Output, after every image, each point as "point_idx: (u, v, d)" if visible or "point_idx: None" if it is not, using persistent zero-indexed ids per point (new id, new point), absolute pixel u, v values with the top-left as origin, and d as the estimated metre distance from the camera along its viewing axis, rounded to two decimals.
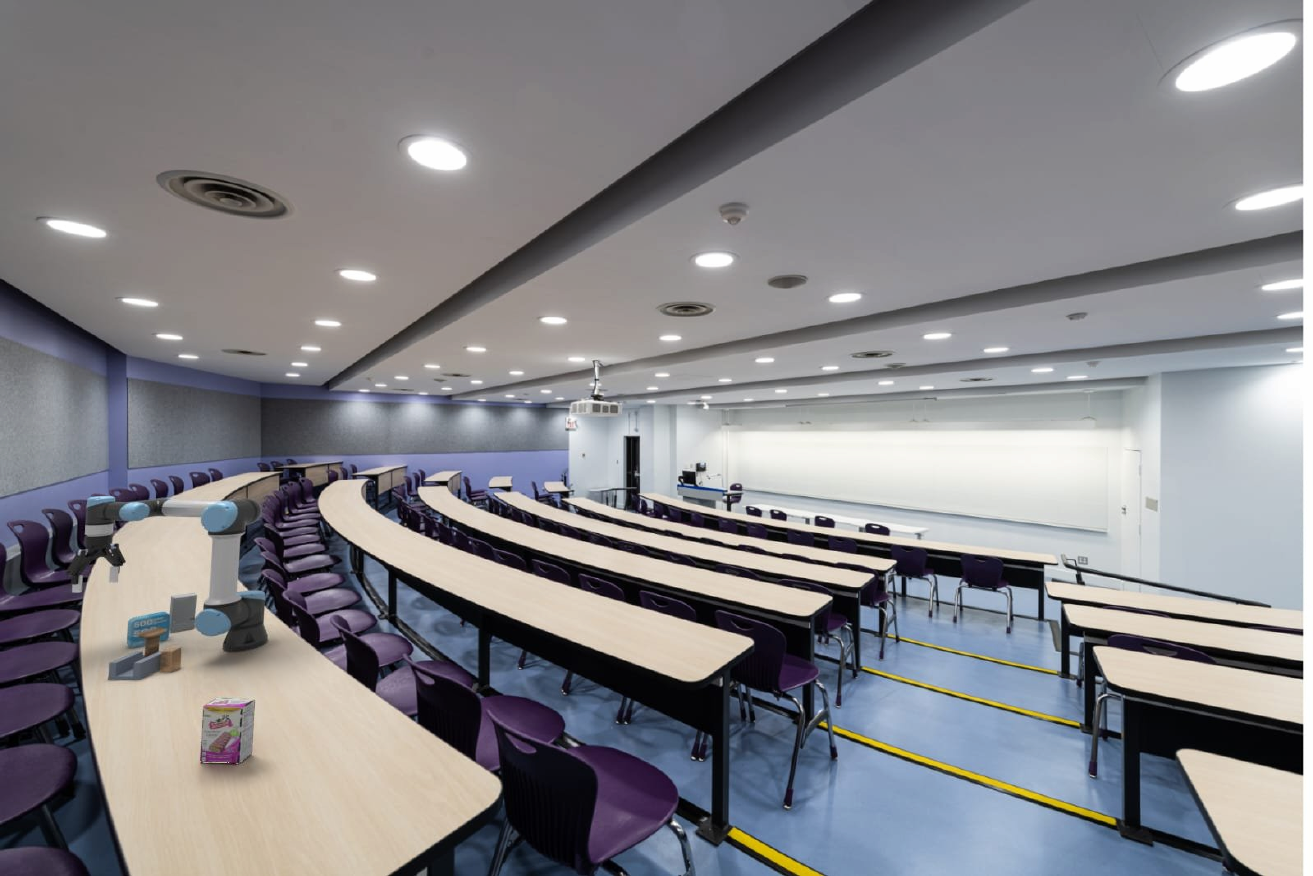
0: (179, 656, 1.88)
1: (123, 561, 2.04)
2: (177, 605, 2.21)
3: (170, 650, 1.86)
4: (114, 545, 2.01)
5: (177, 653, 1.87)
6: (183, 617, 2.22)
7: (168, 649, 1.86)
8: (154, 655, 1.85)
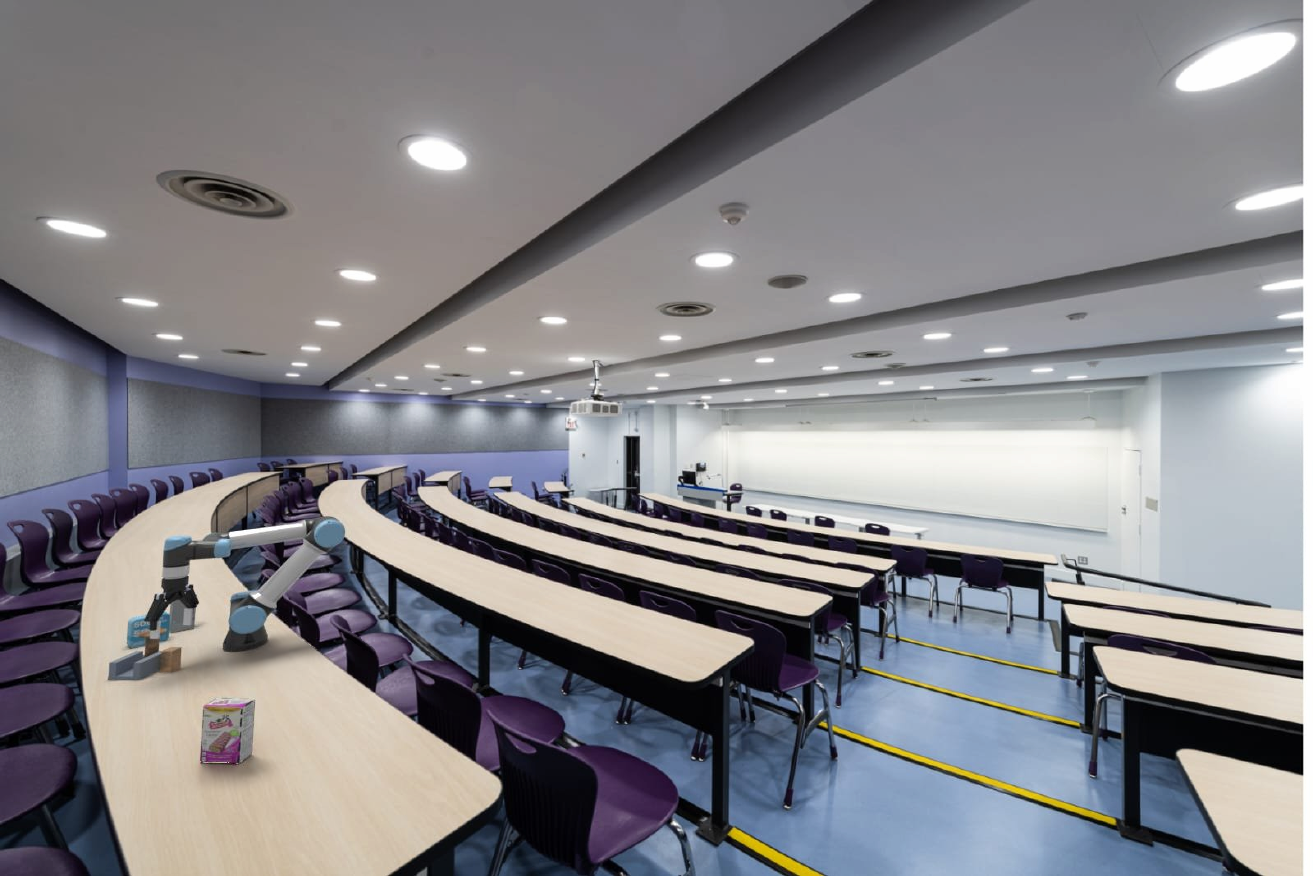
0: (179, 656, 1.88)
1: (197, 602, 1.96)
2: (177, 605, 2.21)
3: (170, 650, 1.86)
4: (189, 586, 1.93)
5: (177, 653, 1.87)
6: (183, 617, 2.22)
7: (168, 649, 1.86)
8: (154, 655, 1.85)
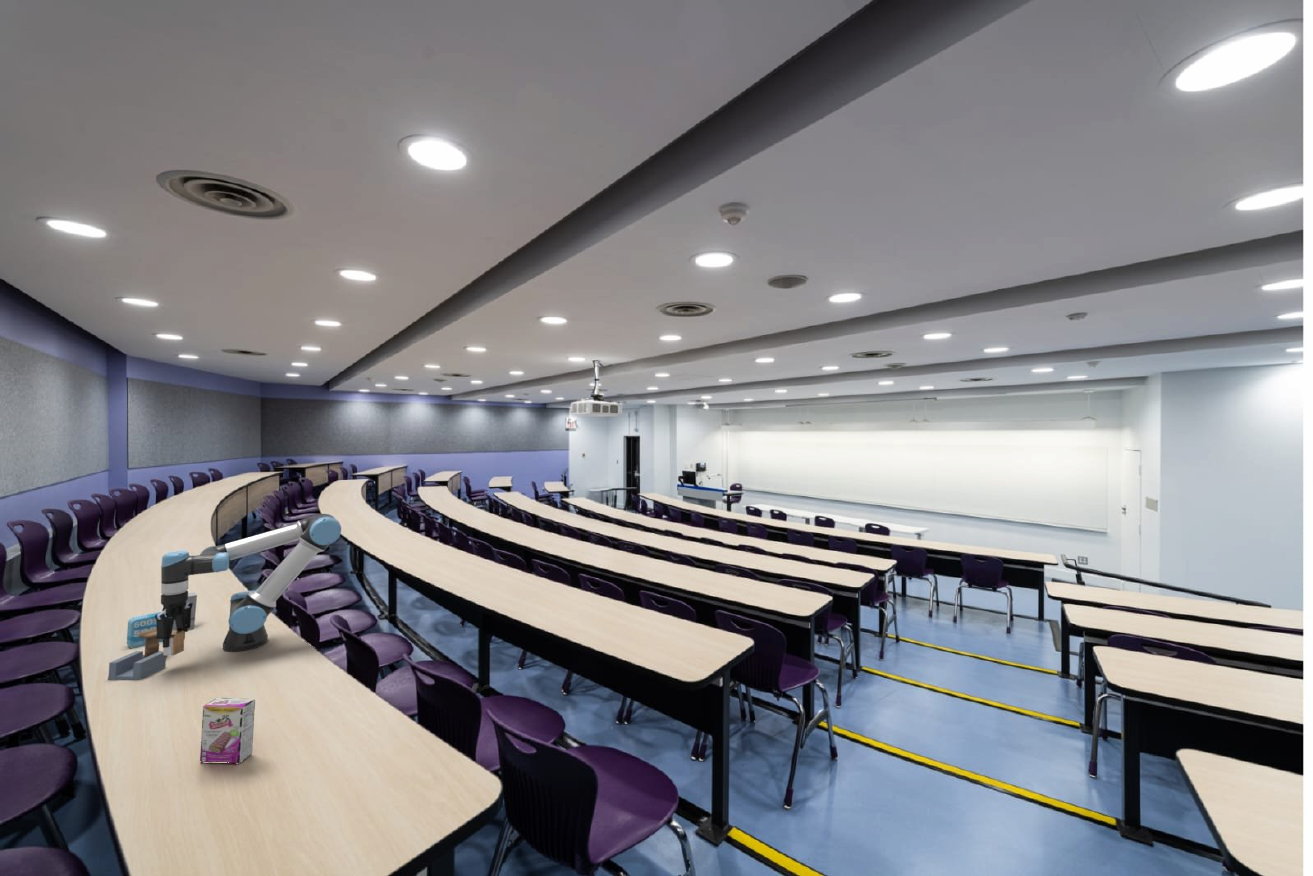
0: (182, 639, 1.89)
1: (188, 625, 1.92)
2: None
3: (173, 633, 1.86)
4: (188, 604, 1.93)
5: (179, 637, 1.88)
6: None
7: None
8: (154, 655, 1.85)
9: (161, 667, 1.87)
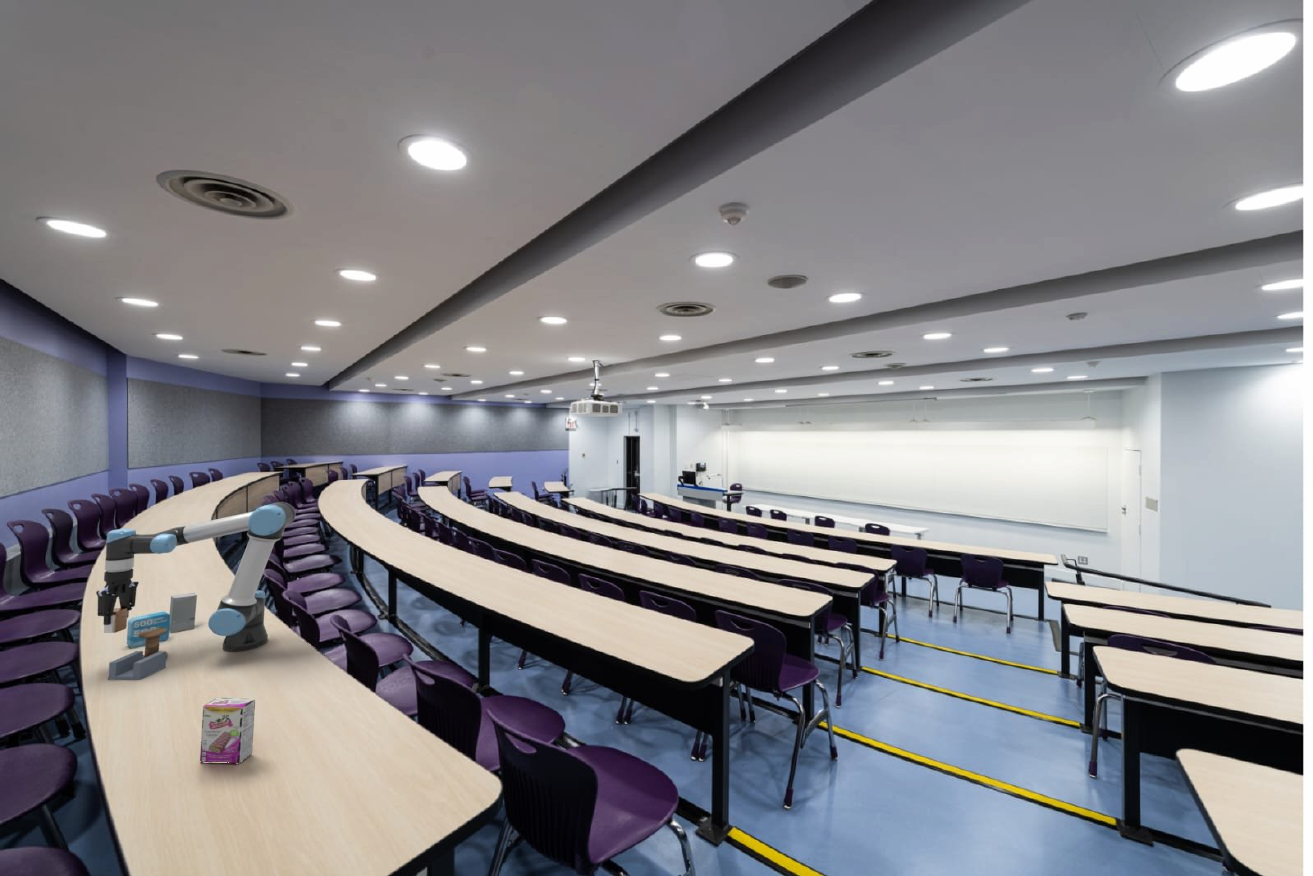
0: (124, 617, 1.88)
1: (133, 604, 1.92)
2: (177, 605, 2.21)
3: (114, 611, 1.86)
4: (134, 583, 1.92)
5: (122, 614, 1.87)
6: (183, 617, 2.22)
7: None
8: (154, 655, 1.85)
9: (161, 667, 1.87)
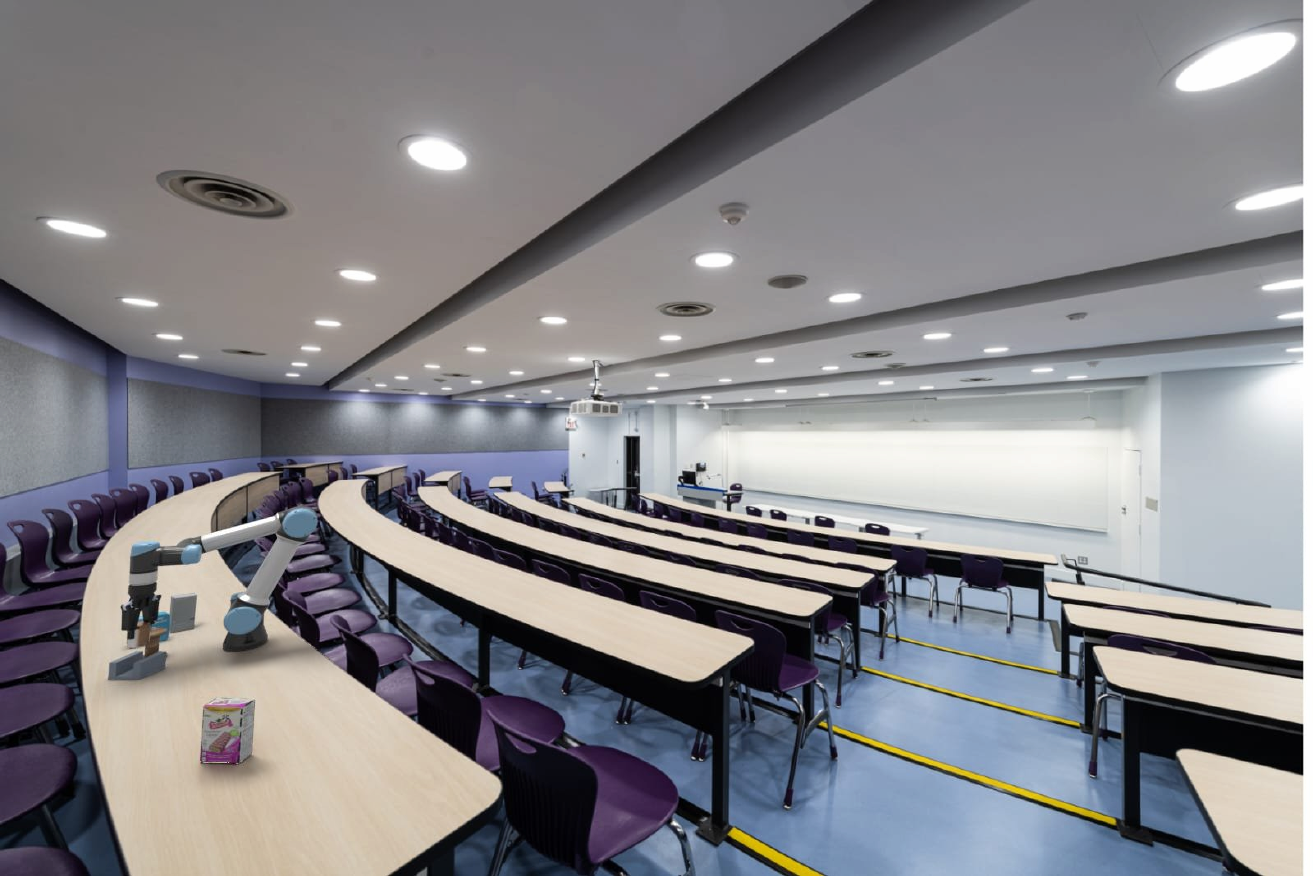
0: (147, 631, 1.85)
1: (155, 618, 1.88)
2: (177, 605, 2.21)
3: (138, 625, 1.82)
4: (157, 596, 1.89)
5: (145, 628, 1.84)
6: (183, 617, 2.22)
7: None
8: (154, 655, 1.85)
9: (161, 667, 1.87)
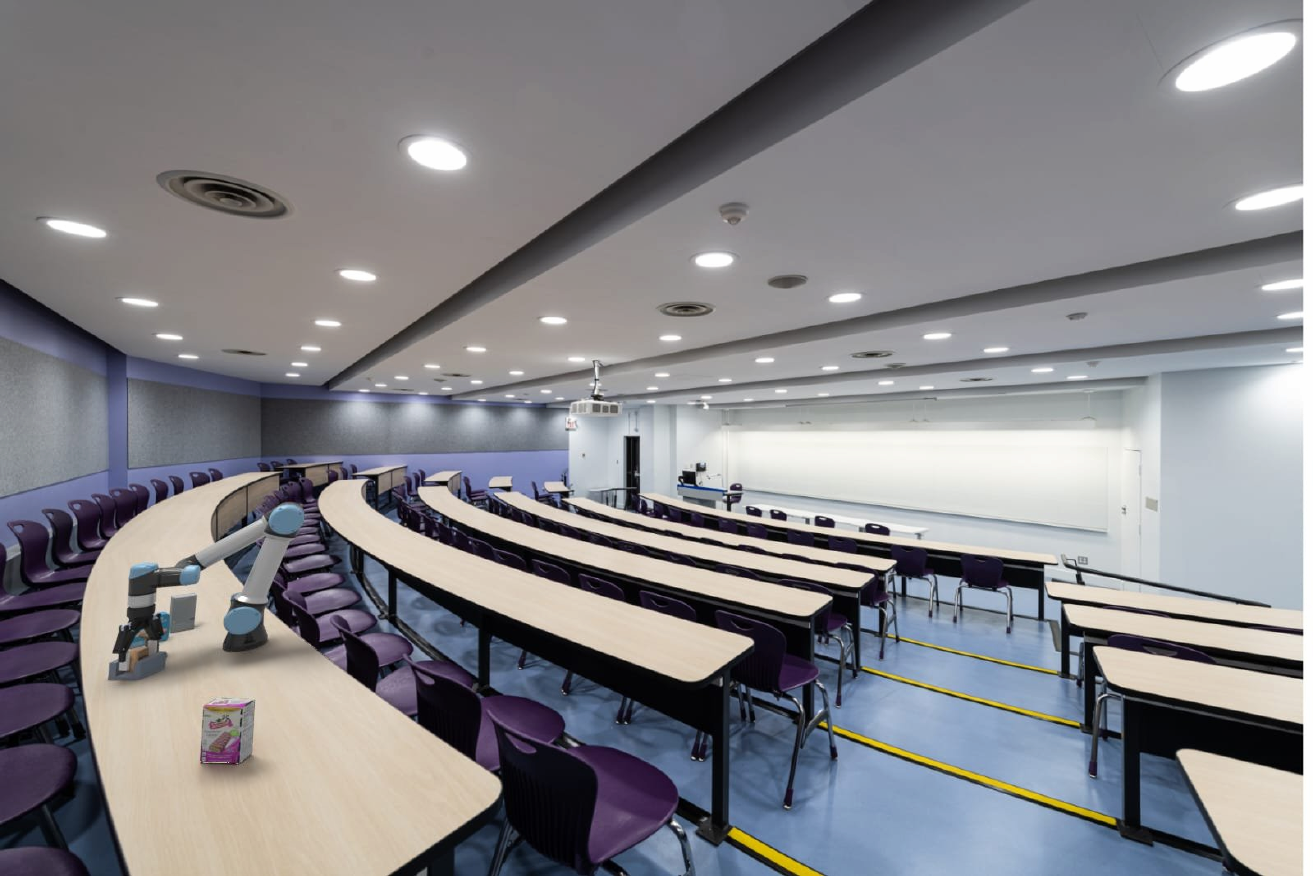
0: (146, 656, 1.84)
1: (162, 634, 1.91)
2: (177, 605, 2.21)
3: (137, 650, 1.82)
4: (156, 615, 1.89)
5: (144, 653, 1.83)
6: (183, 617, 2.22)
7: (135, 649, 1.83)
8: (154, 655, 1.85)
9: (161, 667, 1.87)
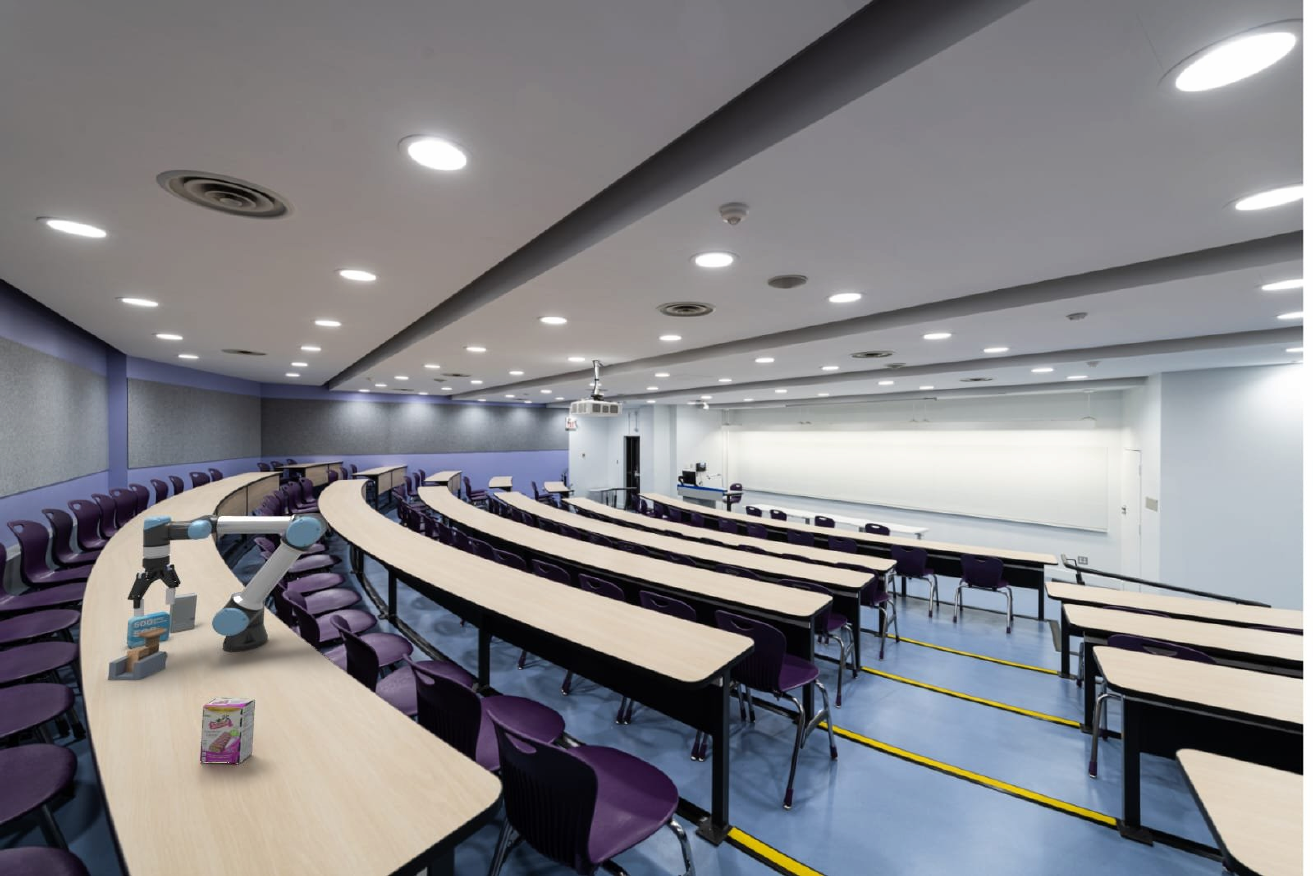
0: (146, 656, 1.84)
1: (178, 582, 1.99)
2: (177, 605, 2.21)
3: (137, 650, 1.82)
4: (170, 566, 1.95)
5: (144, 653, 1.83)
6: (183, 617, 2.22)
7: (135, 649, 1.83)
8: (154, 655, 1.85)
9: (161, 667, 1.87)
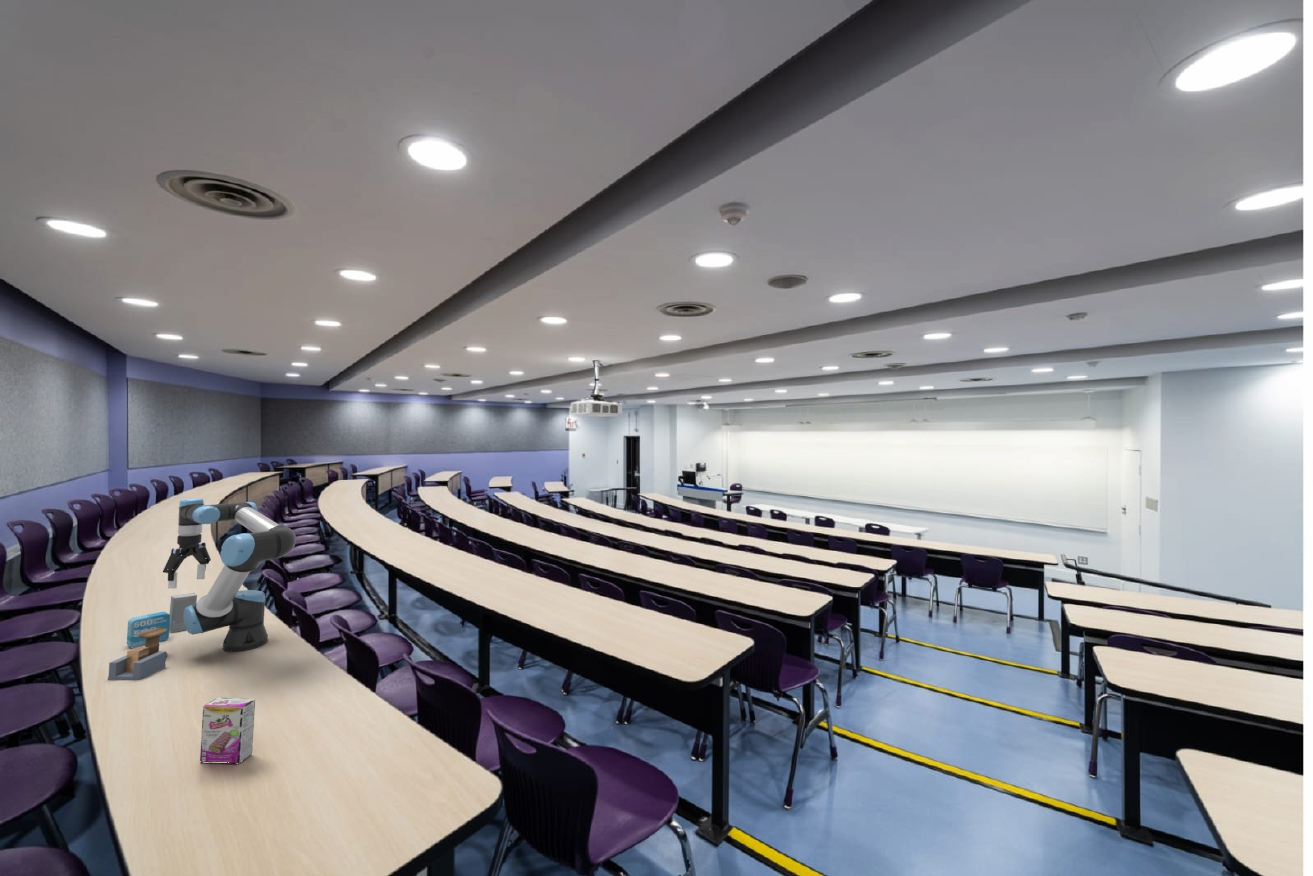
0: (146, 656, 1.84)
1: (209, 559, 2.17)
2: (177, 605, 2.21)
3: (137, 650, 1.82)
4: (201, 544, 2.14)
5: (144, 653, 1.83)
6: None
7: (135, 649, 1.83)
8: (154, 655, 1.85)
9: (161, 667, 1.87)
